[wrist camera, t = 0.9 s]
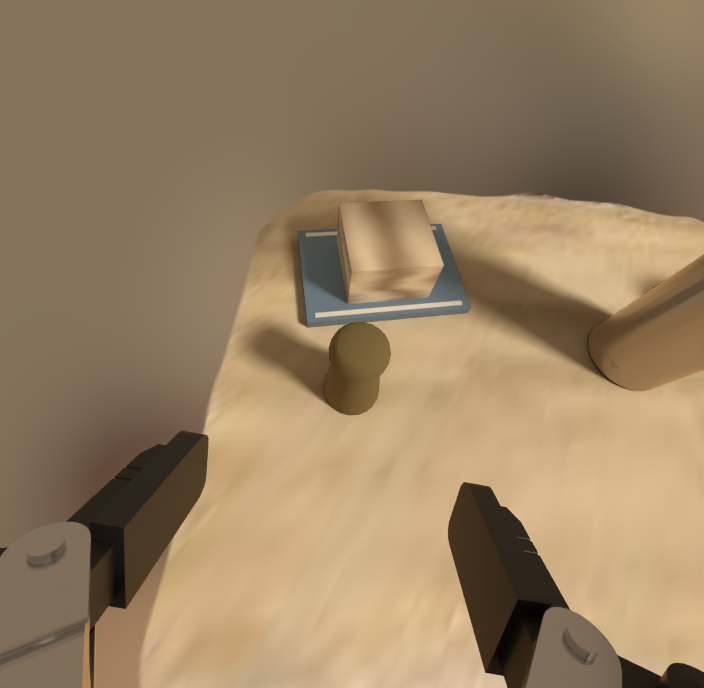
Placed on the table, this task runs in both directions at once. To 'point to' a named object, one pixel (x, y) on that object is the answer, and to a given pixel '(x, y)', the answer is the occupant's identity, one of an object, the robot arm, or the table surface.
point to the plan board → (333, 309)
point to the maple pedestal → (387, 251)
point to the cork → (356, 367)
